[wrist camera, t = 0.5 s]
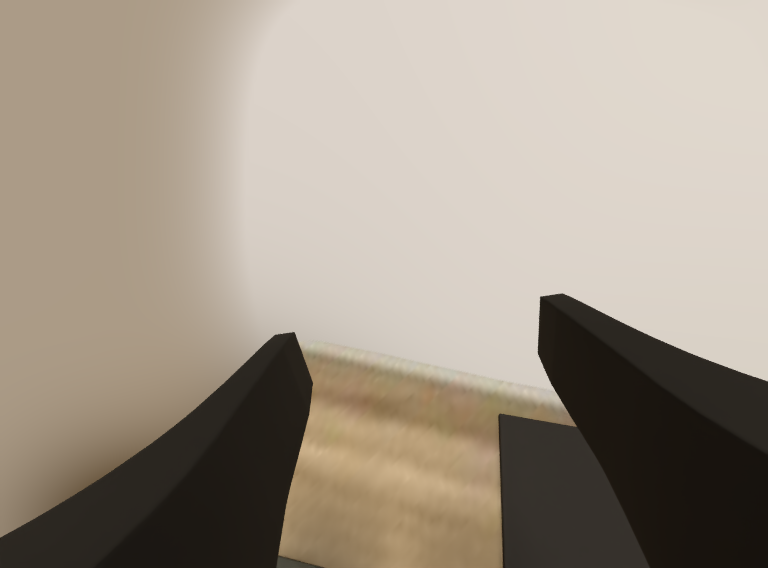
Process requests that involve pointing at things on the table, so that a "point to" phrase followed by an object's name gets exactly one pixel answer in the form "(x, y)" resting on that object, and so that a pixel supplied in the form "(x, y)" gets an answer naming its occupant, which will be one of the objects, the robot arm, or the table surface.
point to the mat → (559, 501)
